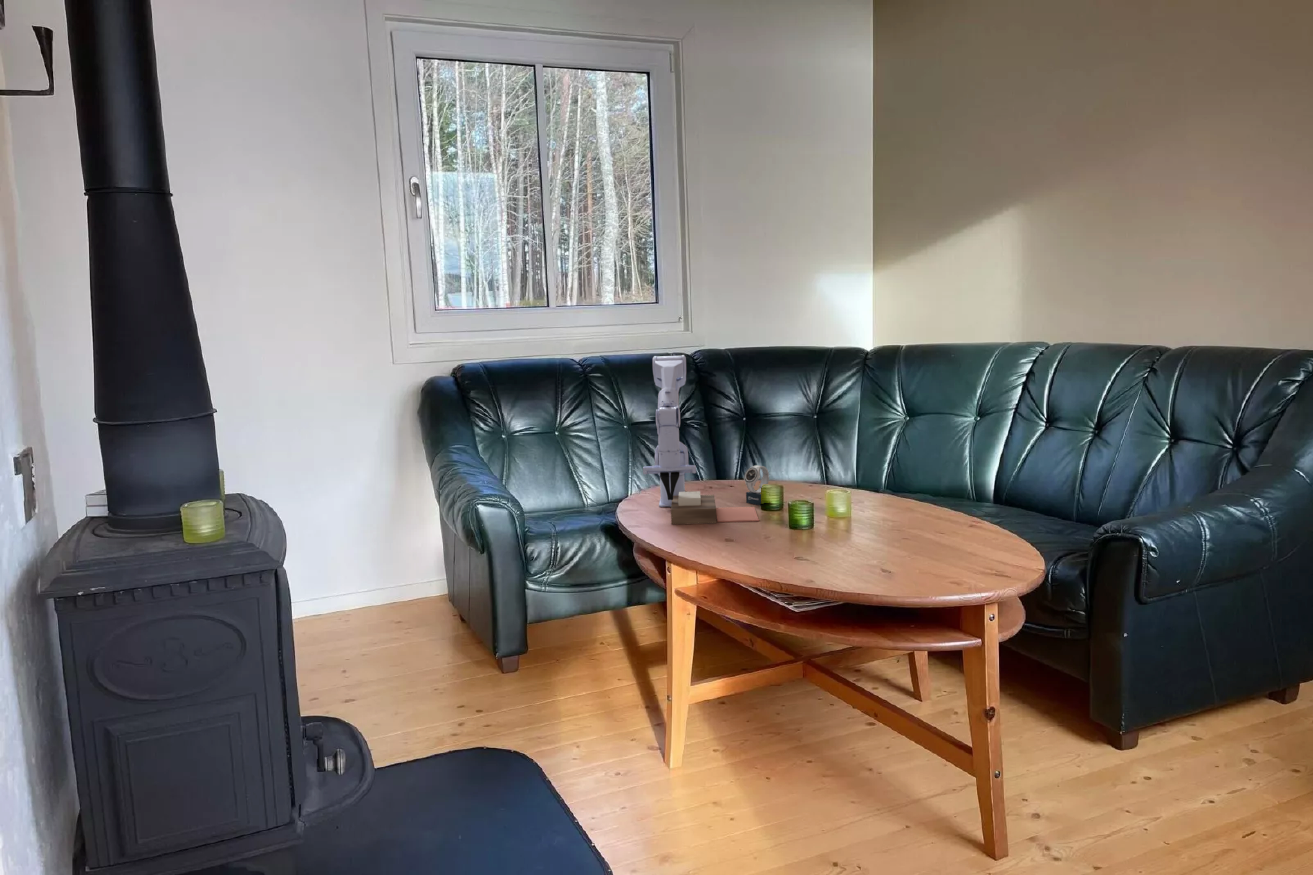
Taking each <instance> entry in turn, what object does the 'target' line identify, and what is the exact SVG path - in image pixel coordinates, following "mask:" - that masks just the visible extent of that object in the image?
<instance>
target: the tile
mask: <svg viewBox="0 0 1313 875" xmlns="http://www.w3.org/2000/svg"><path fill="white" fill-rule="evenodd" d="M700 495H701V491H698V490H697V491H692V490H691V491H685V492H679V497H678V501H679V506H688V505H701V497H700Z"/></svg>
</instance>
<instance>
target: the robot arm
mask: <svg viewBox="0 0 1313 875" xmlns="http://www.w3.org/2000/svg"><path fill="white" fill-rule="evenodd" d="M652 375H653V381H654V383H655V384H654V385H655V386H656V387H658V388H659V389H661V390H659V392H658V394H657V396H658V397H657V409H655V425H656V429H657V430H656V431H657V435H658V438H657V440H658V441H657V443H658V444H657V446H656V448H655V449H654V450H655V452H654V465H648V466H647V465H646V466H643V467H642V473H643V475H652V474H653V475H656V474H659V475H658V476H659V488H660V489H659V491H660V492H659V493H660V499H659V502H658V503H659V504H658V507H661V508H662V507H663V508H664V507H671V503H672V500H673V496H679V492H686V490H685V486H686V484H685V474H697V466H696V464H695V465H694V464H689V453H688V452H689V451H688V450H689V449H688V447H687V446H686V444H684V443H683V442H682V441H680V430H679V429H680V427H681V410H680V406H679V405H680V404H679V403H680V401H679V399H680V398H679V395H680V394H679V392H680V388H682V387H683V386H685V385H686V382H687V357H686V356H685V354H682V355H663V356H660V355H654V356H653V357H652Z"/></svg>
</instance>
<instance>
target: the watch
mask: <svg viewBox="0 0 1313 875" xmlns="http://www.w3.org/2000/svg"><path fill="white" fill-rule="evenodd" d="M761 471H762V477H761ZM769 472H770V471H769V469H768V468H767V467H766V466H763V465H757V464H756V465H753V466H751V467H749V468H748V469H747V470H745V472H744V476H743V479H744V482H745V485H746V487H747V490H748V491H747V492H745V499H746V500H745V503H746V504H751V505H757V506H761V505H760V504H761V494H760V493H761V488H762V485H763V484H768V485H769V481H770V473H769ZM760 479H761V481H760V483H759V486H758V487H759V488H758V489H756V490H755V488H754V487H755V486H756V483H757V482H758V480H760Z"/></svg>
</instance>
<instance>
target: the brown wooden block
mask: <svg viewBox="0 0 1313 875" xmlns="http://www.w3.org/2000/svg"><path fill="white" fill-rule="evenodd" d="M678 497H679V496H673V500H672V503H671V506H670V515H671V516H670V520H671V521H670V522H671V523H670V524H671V525H691V524H692V525H696V524H697V525H698V524H700V525H701V524H703V525H704V524H717V516H716V508H717V506H716V498H715V494H700V497H701V505H688V506H679V501H678Z"/></svg>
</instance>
